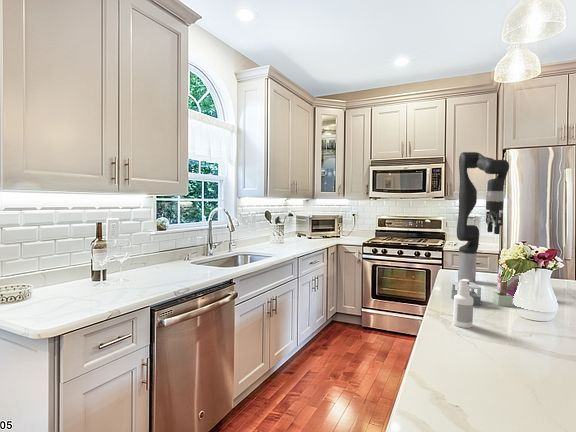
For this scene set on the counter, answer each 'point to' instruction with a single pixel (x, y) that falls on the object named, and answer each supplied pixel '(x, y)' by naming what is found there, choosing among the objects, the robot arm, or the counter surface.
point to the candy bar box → (508, 283)
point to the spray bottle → (463, 306)
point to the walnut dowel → (503, 288)
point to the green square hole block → (502, 299)
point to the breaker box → (474, 295)
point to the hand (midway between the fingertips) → (493, 233)
